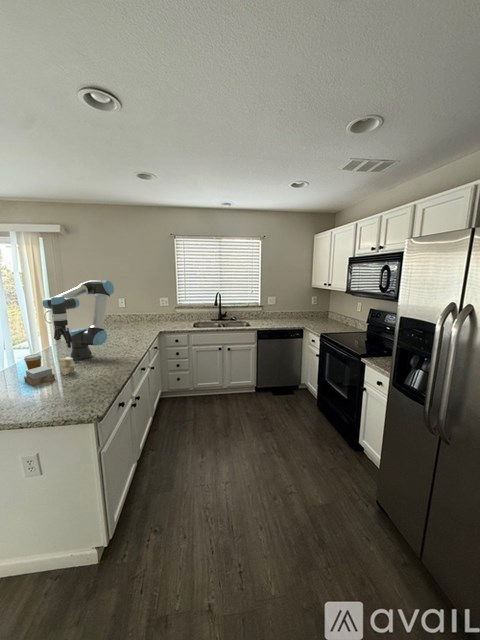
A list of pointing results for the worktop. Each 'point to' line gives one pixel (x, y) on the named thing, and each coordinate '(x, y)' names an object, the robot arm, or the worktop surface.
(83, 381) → the worktop surface
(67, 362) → the birch block
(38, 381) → the base slab
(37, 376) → the top slab
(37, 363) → the disposable coffee cup
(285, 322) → the worktop surface
